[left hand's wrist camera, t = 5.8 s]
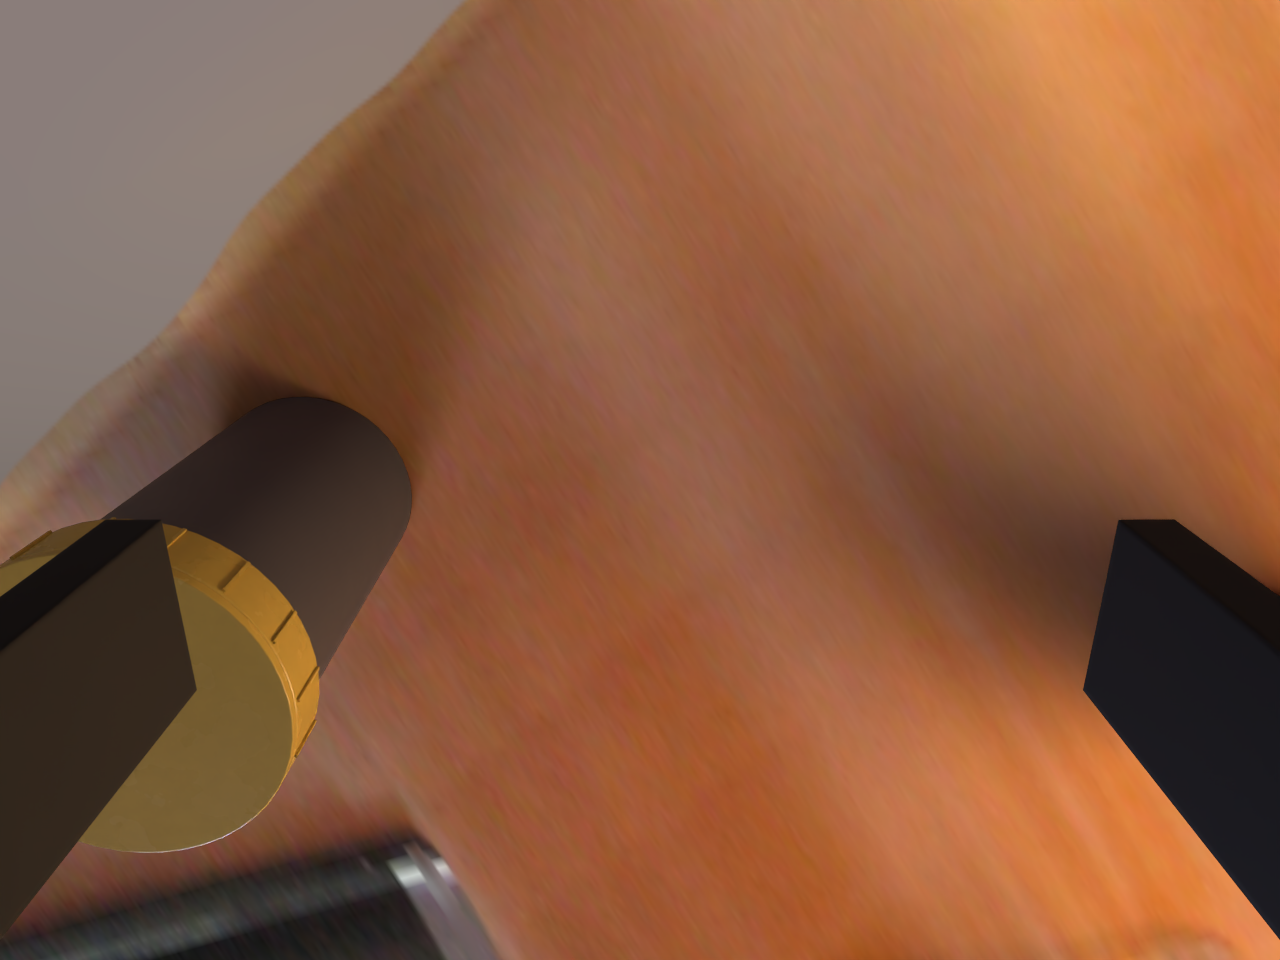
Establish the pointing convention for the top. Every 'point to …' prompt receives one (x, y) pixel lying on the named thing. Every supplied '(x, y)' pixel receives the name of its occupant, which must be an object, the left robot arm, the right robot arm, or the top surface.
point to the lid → (209, 700)
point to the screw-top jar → (294, 506)
